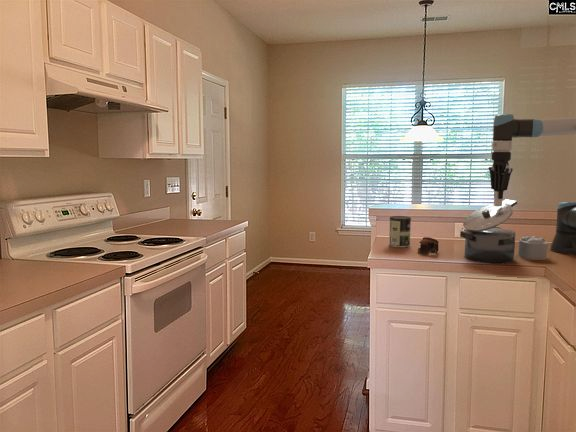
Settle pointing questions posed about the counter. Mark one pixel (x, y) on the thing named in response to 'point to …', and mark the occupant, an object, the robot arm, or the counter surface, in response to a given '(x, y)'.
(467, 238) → the pot
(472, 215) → the lid
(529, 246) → the lumpy-topped squat cylinder
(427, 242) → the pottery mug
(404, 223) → the coffee can
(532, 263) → the counter surface
